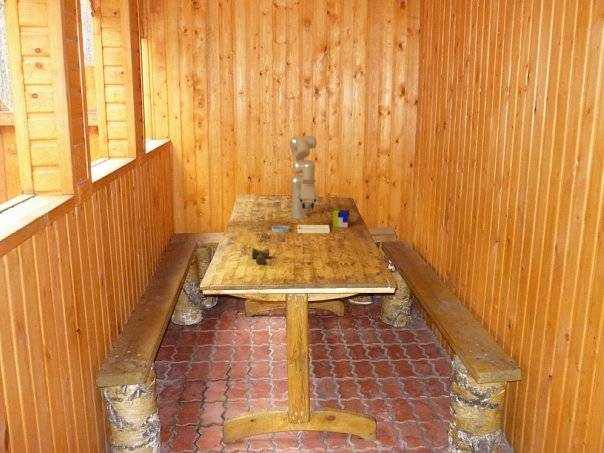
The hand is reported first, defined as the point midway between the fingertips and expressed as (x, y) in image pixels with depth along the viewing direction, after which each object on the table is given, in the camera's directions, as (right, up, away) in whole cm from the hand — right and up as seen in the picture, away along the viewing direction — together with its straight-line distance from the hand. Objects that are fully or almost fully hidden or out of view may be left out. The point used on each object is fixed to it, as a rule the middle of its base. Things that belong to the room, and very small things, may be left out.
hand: (308, 208), depth 395 cm
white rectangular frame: (+4, -15, +3) cm, 16 cm away
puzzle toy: (+24, -11, +20) cm, 33 cm away
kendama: (-27, -31, -66) cm, 78 cm away
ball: (0, -1, 0) cm, 1 cm away
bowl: (-18, -15, +3) cm, 24 cm away
